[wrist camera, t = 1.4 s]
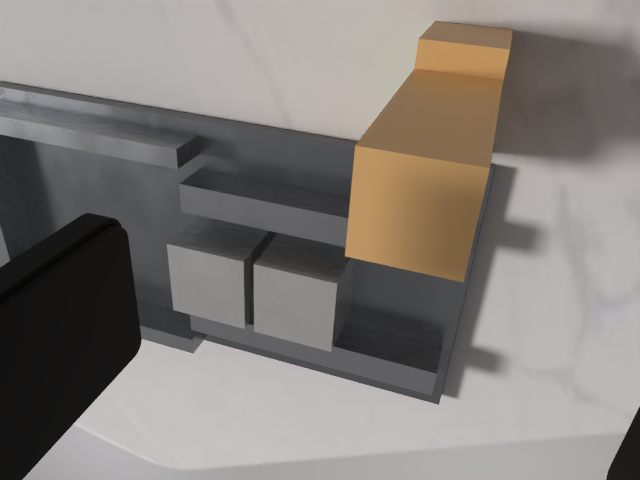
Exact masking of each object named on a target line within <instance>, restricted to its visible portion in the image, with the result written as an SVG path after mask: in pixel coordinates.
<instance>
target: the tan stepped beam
mask: <svg viewBox="0 0 640 480" xmlns="http://www.w3.org/2000/svg"><path fill="white" fill-rule="evenodd" d="M512 34H513V30H510V29H501V28H492V27H483V26H474V25H465V24H456V23H447V22H437V21H435V22H434V23H433V24H432V25H431V26H430V27H429V28H428V29H427V30H426V32H425V33H424V34H423V35H422V36H421V37H420V38H419V41H418V48H417V55H416V62H415V69H414V70H413V71H412V73H411V74H410V75H409V77H408V78H407V79H406V80H405V82H404V83H403V84H402V86H401V87H400V88H399V90H398V91H397V92H396V93H395V95H394V96H393V97H392V99H391V100H390V101H389V102H388V104H387V105H386V106H385V108H384V109H383V110H382V112H381V113H380V114H379V115H378V117H377V118H376V119H375V121H374V122H373V123H372V125H371V126H370V127H369V128H368V130H367V131H366V132H365V134H364V135H363V136H362V137H361V139H360V140H359V141H358V143H357V144H356V145H355V154H354V164H353V175H352V186H351V196H350V207H349V218H348V228H347V239H346V249H345V256H346V257H351V258H355V259H360V260H364V261H369V262H373V263H378V264H382V265H387V266H391V267H396V268H400V269H405V270H409V271H414V272H418V273H423V274H427V275H432V276H436V277H441V278H445V279H450V280H454V281H459V282H464V278H465V274H466V269H467V265H468V261H469V257H470V252H471V248H472V244H473V239H474V235H475V231H476V226H477V222H478V218H479V214H480V209H481V205H482V201H483V196H484V192H485V188H486V183H487V179H488V175H489V170H490V165H491V158H492V152H493V145H494V139H495V132H496V126H497V119H498V113H499V106H500V99H501V93H502V86H503V80H504V76H505V71H506V67H507V62H508V58H509V53H510V49H511V41H512Z"/></svg>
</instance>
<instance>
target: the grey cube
mask: <svg viewBox="0 0 640 480" xmlns="http://www.w3.org/2000/svg"><path fill="white" fill-rule="evenodd" d="M345 249H346V247H342V246H337V245H332V244H328V243H323V242H319V241H314V240H309V239H305V238H300V237H296V236H291V235H286V234H282V233H278V234H277V235H276V237H275V238H274V239H273V240H272V242H271V243H270V244H269V245H268V247H267V248H266V249H265V251H264V252H263V253H262V254H261V256H260V257H259V258H258V259H257V261H256V262H255V263H254V332H258V333H261V334H265V335H269V336H273V337H276V338H280V339H284V340H288V341H291V342H295V343H299V344H303V345H307V346H310V347H314V348H318V349H322V350H325V351H329V352H331V351H332V349H333V347H334V345H335V343H336V341H337V338H338V336H339V334H340V332H341V330H342V327H343V325H344V323H345V321H346V319H347V316H348V314H349V312H350V310H351V301H352V292H353V282H354V273H355V263H356V259H355V258H351V257H346V256H345Z"/></svg>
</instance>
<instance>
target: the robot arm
mask: <svg viewBox="0 0 640 480" xmlns="http://www.w3.org/2000/svg"><path fill="white" fill-rule="evenodd" d="M140 345H141V330H140V322H139V315H138V307H137V300H136V292H135V284H134V277H133V269H132V262H131V254H130V246H129V239H128V234H127V232H126V230H125V229H123V228H122V226H121V224H120V222H119V221H118V220H117V219H115V218H110V217H106V216H101V215H97V214H93V213H86V214H83V215H81V216H80V217H78V218H76V219H75V220H73V221H72V222H70V223H69V224H67V225H66V226H64V227H62V228H61V229H59V230H58V231H56V232H55V233H53V234H51V235H50V236H48V237H47V238H45V239H44V240H42V241H40V242H39V243H37V244H36V245H34V246H33V247H31V248H30V249H28V250H26V251H25V252H23V253H22V254H20V255H19V256H17V257H15V258H14V259H12V260H11V261H9V262H8V263H6V264H5V265H3V266H1V267H0V480H22V479H23V478H24V477H25V476H26V475H27V474H28V473H29V472H30V471H31V469H32V468H33V467H34V466H35V465H36V464H37V463H38V462H39V461H40V460H41V458H42V457H43V456H44V455H45V454H46V453H47V452H48V451H49V450H50V449H51V448H52V446H53V445H54V444H55V443H56V442H57V441H58V440H59V439H60V438H61V437H62V436H63V434H64V433H65V432H66V431H67V430H68V429H69V428H70V427H71V426H72V425H73V424H74V422H75V421H76V420H77V419H78V418H79V417H80V416H81V415H82V414H83V413H84V411H85V410H86V409H87V408H88V407H89V406H90V405H91V404H92V403H93V402H94V401H95V399H96V398H97V397H98V396H99V395H100V394H101V393H102V392H103V391H104V390H105V389H106V387H107V386H108V385H109V384H110V383H111V382H112V381H113V380H114V379H115V378H116V377H117V375H118V374H119V373H120V372H121V371H122V370H123V369H124V368H125V367H126V366H127V364H128V363H129V362H130V361H131V360H132V359H133V358H134V357H135V355H136V354H137V352H138V350H139V348H140ZM607 480H640V407H639V409H638V411H637V413H636V415H635V417H634V419H633V421H632V423H631V425H630V427H629V429H628V431H627V433H626V436H625V438H624V440H623V442H622V444H621V446H620V448H619V450H618V452H617V454H616V456H615V458H614V460H613V462H612V464H611V466H610V468H609V471H608V475H607Z"/></svg>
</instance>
